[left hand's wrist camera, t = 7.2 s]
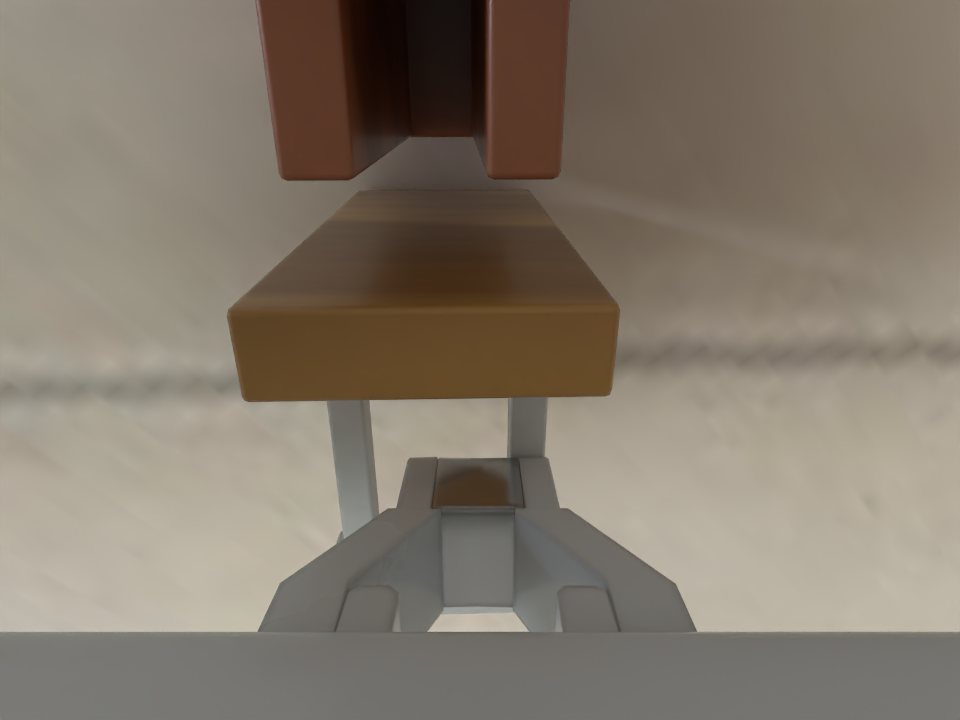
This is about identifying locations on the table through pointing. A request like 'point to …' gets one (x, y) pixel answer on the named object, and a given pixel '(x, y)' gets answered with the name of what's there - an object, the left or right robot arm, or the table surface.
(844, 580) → the table surface
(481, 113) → the drawer
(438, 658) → the left robot arm
